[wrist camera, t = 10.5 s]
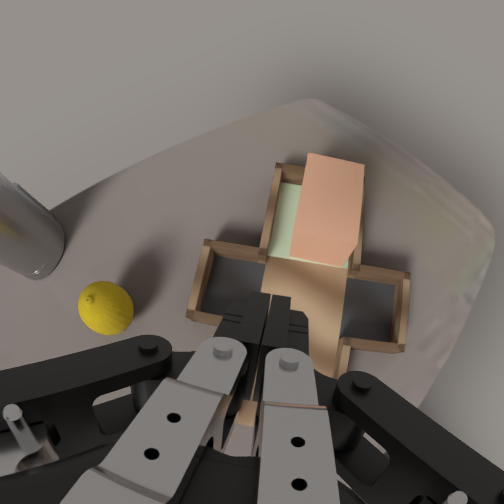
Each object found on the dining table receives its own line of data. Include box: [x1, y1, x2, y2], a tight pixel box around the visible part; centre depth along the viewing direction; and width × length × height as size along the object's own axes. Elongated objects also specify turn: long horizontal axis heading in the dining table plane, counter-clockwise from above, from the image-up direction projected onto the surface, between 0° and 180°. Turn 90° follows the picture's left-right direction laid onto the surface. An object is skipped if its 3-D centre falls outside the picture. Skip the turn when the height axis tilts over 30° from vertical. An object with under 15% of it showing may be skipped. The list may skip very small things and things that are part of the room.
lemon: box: [78, 281, 134, 335], centre depth 30 cm, size 6×6×8 cm
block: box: [289, 153, 365, 267], centre depth 33 cm, size 9×6×7 cm, turn 167°
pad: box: [268, 182, 349, 269], centre depth 36 cm, size 10×9×1 cm
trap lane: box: [185, 163, 410, 427], centre depth 32 cm, size 29×22×3 cm
